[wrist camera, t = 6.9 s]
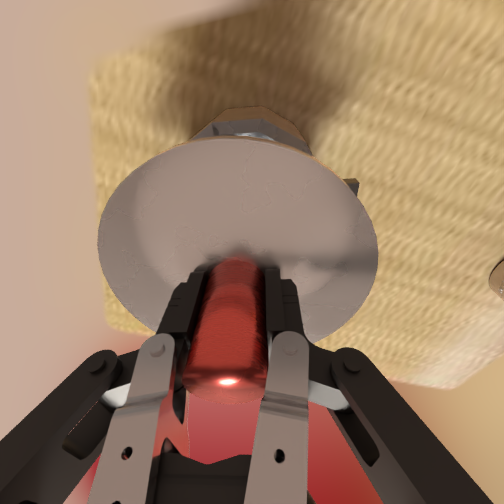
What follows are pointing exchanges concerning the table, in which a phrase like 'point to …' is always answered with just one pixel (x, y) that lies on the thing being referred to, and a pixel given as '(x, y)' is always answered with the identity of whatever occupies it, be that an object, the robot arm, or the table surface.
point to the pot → (260, 130)
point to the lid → (237, 250)
